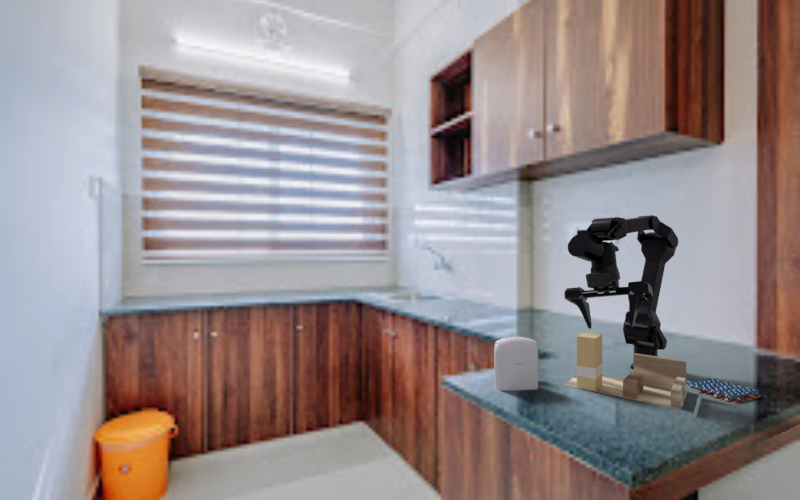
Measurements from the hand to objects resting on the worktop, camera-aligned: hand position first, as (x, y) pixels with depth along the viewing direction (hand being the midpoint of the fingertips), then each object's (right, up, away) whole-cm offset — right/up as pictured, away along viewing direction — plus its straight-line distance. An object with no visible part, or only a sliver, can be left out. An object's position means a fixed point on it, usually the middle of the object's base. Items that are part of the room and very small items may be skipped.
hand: (610, 327), depth 96 cm
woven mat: (+24, -15, -4) cm, 28 cm away
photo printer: (-23, -14, -2) cm, 27 cm away
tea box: (-5, -14, -1) cm, 15 cm away
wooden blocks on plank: (+2, -14, -2) cm, 15 cm away
